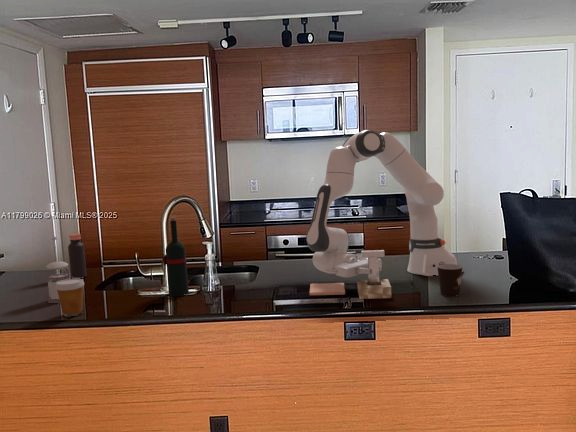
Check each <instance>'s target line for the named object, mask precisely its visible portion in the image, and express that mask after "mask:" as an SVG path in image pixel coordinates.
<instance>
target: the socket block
mask: <svg viewBox="0 0 576 432" xmlns="http://www.w3.org/2000/svg"><path fill="white" fill-rule="evenodd" d="M357 293H358V297H359V299H360V300H361V299H363V300H364V299H366V300H368V299H369V300H370V299H392V286H391V284H390V280H389V279H388V278H385V279H384V278H382V279H380V278H379V285H368V279H357Z"/></svg>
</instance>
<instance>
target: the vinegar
mask: <svg viewBox="0 0 576 432" xmlns="http://www.w3.org/2000/svg"><path fill="white" fill-rule="evenodd" d="M68 239H69V242H70V243H69V244H68V245H67V250H68V251H67V252H68V262H69V271H70V277H71V276H73V277H84V276H87V277H88V274H87V263H86V252H85V251H86V250H85V245H84V243H82V236H81V233H71V234H69V235H68Z"/></svg>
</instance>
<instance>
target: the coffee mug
mask: <svg viewBox="0 0 576 432" xmlns="http://www.w3.org/2000/svg"><path fill="white" fill-rule="evenodd" d="M437 268H438V275H437V276H438V281H439V290H440V295H441V294H442V296H443V295H446V296H445V297H449V296H454V297H457V296H456V295H459V294H461V293H460V292H461V285H462V277H463V276H462V275H463V273H462V269H463V268H464V267H463V265H461V264H458V263H457V264H442V265H438V266H437ZM459 296H460V295H459Z"/></svg>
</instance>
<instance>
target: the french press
mask: <svg viewBox="0 0 576 432" xmlns="http://www.w3.org/2000/svg"><path fill="white" fill-rule="evenodd" d="M51 240H52V241H53V242H54V244H56V240H58V237H56V236H52V237H51ZM54 249H55V252H54V253H57V246H54ZM55 259H56V260H55V261H54V262H50V263H48V264H47V265H46V266H45V269H46V270H47V269H48V270H57V272H59V269H60V270H61V271H64V273H56V274H51V275H49V276H48V280H47V286H48V287H47V288H48V296H49V299H50V297H51V299H59V296H58V292H57V289H56V288H55V286H56V283H57V282H58V281H61V280H65V279H71V272H70V268H69V267H68V266H70V263H68V262H65V261H60V260H59V261H58V258H57V255H55ZM66 268H67V270H68V273H67V271H66ZM68 276H69V277H68Z"/></svg>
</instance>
